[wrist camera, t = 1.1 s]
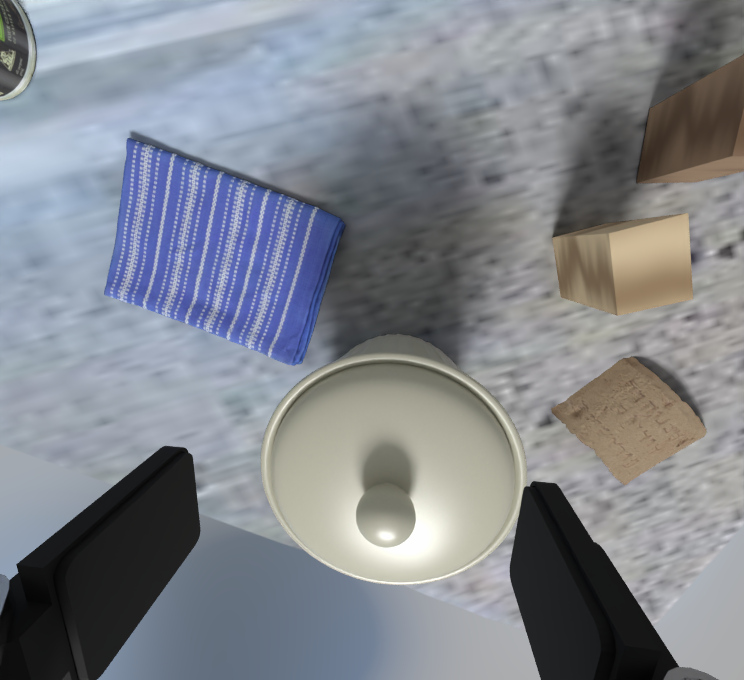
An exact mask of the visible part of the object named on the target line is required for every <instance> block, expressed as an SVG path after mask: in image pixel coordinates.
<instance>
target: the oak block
mask: <svg viewBox="0 0 744 680" xmlns="http://www.w3.org/2000/svg"><path fill="white" fill-rule="evenodd" d="M553 245H554V252H555V259H556V266H557V273H558V280H559V287H560V294H561V297H562V298H565V299H568V300H571V301H574V302H577V303H580V304H583V305H586V306H589V307H592V308H596V309H599V310H602V311H605V312H608V313H611V314H614V315H617V316H618V315H623V314H628V313H632V312H637V311H641V310H646V309H650V308H655V307H659V306H664V305H668V304H673V303H678V302H682V301H687V300H691V299H693V290H692V272H691V255H690V238H689V220H688V213H685V214H677V215H669V216H661V217H653V218H645V219H637V220H629V221H621V222H613V223H606V224H602V225H599V226H595V227H591V228H587V229H583V230H579V231H576V232H572V233H568V234H564V235H560V236H556V237H553Z"/></svg>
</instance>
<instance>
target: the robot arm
mask: <svg viewBox="0 0 744 680" xmlns="http://www.w3.org/2000/svg"><path fill="white" fill-rule="evenodd" d="M199 536H200V521H199V511H198V502H197V492H196V483H195V473H194V464H193V457H192V455H191V454H190V453H188V451H187V449H186V448H182V447H172V446H164V447H162V448H160V449H159V450H158V451H157V452H155V453H154V454H153V455H152V456H150V457H149V458H148V459H147V460H146V461H144V462H143V463H142V464H141V465H139V466H138V467H137V468H136V469H134V470H133V471H132V472H131V473H129V474H128V475H127V476H126V477H124V478H123V479H122V480H121V481H119V482H118V483H117V484H116V485H114V486H113V487H112V488H111V489H110V490H108V491H107V492H106V493H105V494H103V495H102V496H101V497H100V498H98V499H97V500H96V501H95V502H94V503H92V504H91V505H90V506H88V507H87V508H86V509H85V510H83V511H82V512H81V513H80V514H78V515H77V516H76V517H75V518H74V519H72V520H71V521H70V522H69V523H67V524H66V525H65V526H64V527H62V528H61V529H60V530H59V531H57V532H56V533H55V534H54V535H53V536H51V537H50V538H49V539H47V540H46V541H45V542H44V543H43V544H41V545H40V546H39V547H38V548H36V549H35V550H34V551H33V552H31V553H30V554H29V555H28V556H26V557H25V558H24V559H23V560H21V561H20V562H19V563H18V564H17V568H18V572H19V573H18V574H17V575H15V576H14V577H13V578H12V579H11V580H9V579H8V578H7V577H6V576H5V575H2V574H0V680H97V679H98V678H99V677H100V676H101V675H102V674H103V672H104V671H105V670H106V668H107V667H108V666H109V664H110V663H111V661H112V660H113V659H114V657H115V656H116V654H117V653H118V652H119V650H120V649H121V647H122V646H123V645H124V643H125V642H126V641H127V639H128V638H129V636H130V635H131V634H132V632H133V631H134V629H135V628H136V627H137V625H138V624H139V623H140V621H141V620H142V618H143V617H144V615H145V614H146V613H147V611H148V610H149V609H150V607H151V606H152V604H153V603H154V602H155V600H156V599H157V597H158V596H159V595H160V593H161V592H162V591H163V589H164V588H165V586H166V585H167V584H168V582H169V581H170V579H171V578H172V577H173V575H174V574H175V573H176V571H177V570H178V568H179V567H180V566H181V564H182V563H183V561H184V560H185V559H186V557H187V556H188V554H189V553H190V552H191V550H192V549H193V548H194V546H195V544H196V543H197V541H198V539H199ZM510 578H511V583H512V586H513V590H514V593H515V596H516V599H517V603H518V606H519V609H520V613H521V616H522V619H523V622H524V626H525V629H526V632H527V635H528V638H529V642H530V645H531V648H532V652H533V655H534V658H535V662H536V665H537V668H538V671H539V675H540V677H541V680H718V679H716V678H714V677H713V676H711V675H709V674H707V673H704V672H701V671H698V670H695V669H692V668H685V667H679V666H678V664H677V663H676V661H675V660H674V658H673V657H672V655H671V654H670V652H669V650H668V649H667V647H666V646H665V644H664V643H663V641H662V640H661V638H660V636H659V635H658V633H657V632H656V630H655V629H654V627H653V626H652V624H651V623H650V621H649V619H648V618H647V616H646V615H645V613H644V612H643V610H642V609H641V607H640V605H639V604H638V602H637V601H636V599H635V598H634V596H633V595H632V593H631V592H630V590H629V588H628V587H627V585H626V584H625V582H624V581H623V579H622V578H621V576H620V574H619V573H618V571H617V570H616V568H615V567H614V565H613V564H612V562H611V561H610V559H609V557H608V556H607V554H606V553H605V551H604V550H603V549H602V548H601V546H600V545H598V544H597V543H595V542H593V540H592V539H591V537H590V535H589V534H588V532H587V531H586V529H585V528H584V526H583V524H582V523H581V521H580V520H579V518H578V516H577V515H576V513H575V512H574V510H573V508H572V507H571V505H570V504H569V502H568V500H567V499H566V497H565V496H564V494H563V492H562V491H561V489H560V488H559V486H558V485H557V484H555V483H546V482H536V481H533V482H532V483H531V485H530V487H528V486H526V487H524V490H523V494H522V500H521V506H520V511H519V517H518V523H517V529H516V534H515V540H514V546H513V551H512V557H511V563H510Z"/></svg>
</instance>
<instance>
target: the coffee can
mask: <svg viewBox="0 0 744 680" xmlns="http://www.w3.org/2000/svg"><path fill="white" fill-rule="evenodd" d="M35 62H36V47H35V40H34V35H33V32H32V29H31V26H30V23H29V21H28V19H27V17H26V15H25V13H24V11H23V10H22V8H21V7H20V5H19V4H18V3H17V1H16V0H0V100H8V99H11V98H14V97H15V96H17V95H19V94H20V93H21V92H22V91H23V90H25V88H26V87H27V86H28V84H29V82H30V81H31V78H32V76H33V73H34V69H35Z"/></svg>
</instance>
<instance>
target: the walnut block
mask: <svg viewBox="0 0 744 680" xmlns="http://www.w3.org/2000/svg"><path fill="white" fill-rule="evenodd" d="M743 171H744V55H742V56H740V57H738V58H737V59H735V60H733V61H732V62H730V63H728V64H726V65H725V66H723V67H721V68H719V69H718V70H716V71H714V72H712V73H711V74H709V75H707V76H706V77H704V78H702V79H700V80H699V81H697V82H695V83H693V84H692V85H690V86H688V87H686V88H685V89H683V90H681V91H680V92H678V93H676V94H674V95H673V96H671V97H669V98H667V99H666V100H664V101H662V102H660V103H659V104H657V105H655V106H654V107H652V108H650V110H649V116H648V121H647V127H646V133H645V138H644V144H643V149H642V155H641V161H640V166H639V172H638V177H637V183H678V182H699V181H703V180H708V179H712V178H716V177H721V176H725V175H730V174H734V173H738V172H743Z"/></svg>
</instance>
